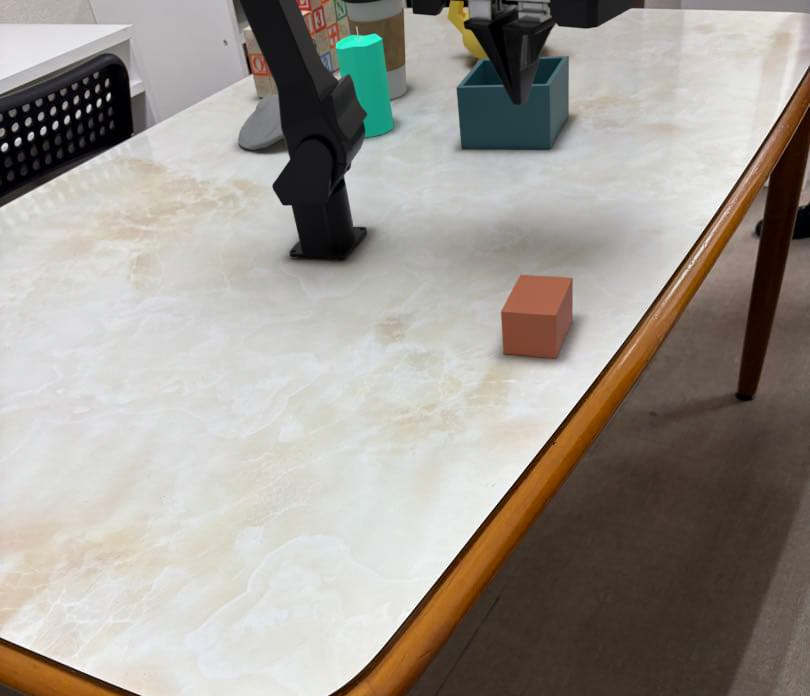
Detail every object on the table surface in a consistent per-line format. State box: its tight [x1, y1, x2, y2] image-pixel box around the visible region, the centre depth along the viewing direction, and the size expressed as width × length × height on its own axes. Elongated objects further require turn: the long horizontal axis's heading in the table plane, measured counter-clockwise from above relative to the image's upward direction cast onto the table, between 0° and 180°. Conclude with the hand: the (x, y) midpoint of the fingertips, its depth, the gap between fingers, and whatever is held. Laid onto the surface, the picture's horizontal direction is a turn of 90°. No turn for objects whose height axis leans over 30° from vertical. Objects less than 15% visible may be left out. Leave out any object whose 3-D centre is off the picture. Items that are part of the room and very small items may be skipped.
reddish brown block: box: [500, 274, 574, 359], centre depth 71 cm, size 6×4×4 cm
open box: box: [456, 55, 570, 150], centre depth 103 cm, size 7×11×10 cm
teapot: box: [447, 0, 557, 65], centre depth 123 cm, size 20×18×11 cm
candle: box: [336, 27, 395, 138], centre depth 109 cm, size 6×6×12 cm
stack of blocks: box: [242, 0, 351, 98], centre depth 129 cm, size 21×6×12 cm, turn 151°
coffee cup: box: [342, 0, 408, 100], centre depth 117 cm, size 8×8×15 cm
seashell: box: [237, 94, 284, 151], centre depth 114 cm, size 12×6×10 cm
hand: (520, 103), depth 76 cm, fingers closed
